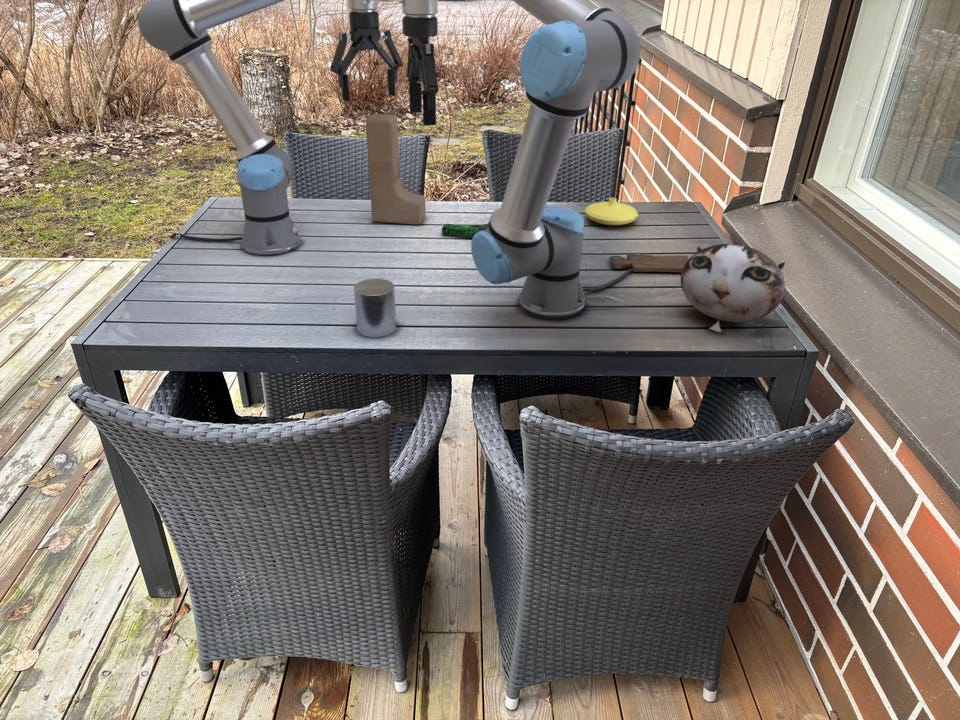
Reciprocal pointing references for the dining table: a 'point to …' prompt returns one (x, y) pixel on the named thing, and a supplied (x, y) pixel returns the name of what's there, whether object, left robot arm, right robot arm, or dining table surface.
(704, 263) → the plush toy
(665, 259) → the dark wooden board
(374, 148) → the decorative block
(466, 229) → the handgun
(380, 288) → the can
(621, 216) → the yellow knobbed lid
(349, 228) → the dining table surface
